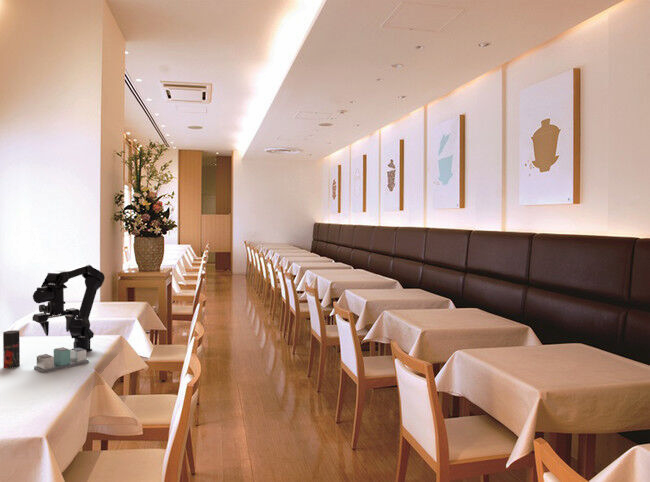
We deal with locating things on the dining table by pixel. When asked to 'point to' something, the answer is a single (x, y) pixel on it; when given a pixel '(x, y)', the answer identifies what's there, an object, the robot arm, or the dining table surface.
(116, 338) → the dining table surface
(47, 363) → the gray block holder
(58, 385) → the dining table surface
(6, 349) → the deodorant
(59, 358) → the block
